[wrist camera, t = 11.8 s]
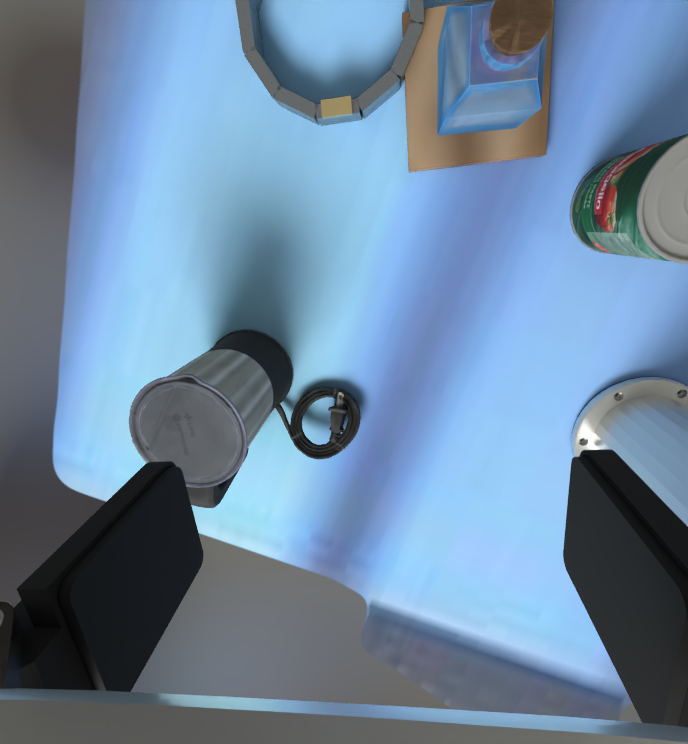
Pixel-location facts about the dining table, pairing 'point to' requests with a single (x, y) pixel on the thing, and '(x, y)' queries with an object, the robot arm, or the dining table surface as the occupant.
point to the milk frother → (228, 413)
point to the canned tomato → (636, 203)
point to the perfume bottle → (491, 64)
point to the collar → (334, 107)
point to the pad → (463, 147)
